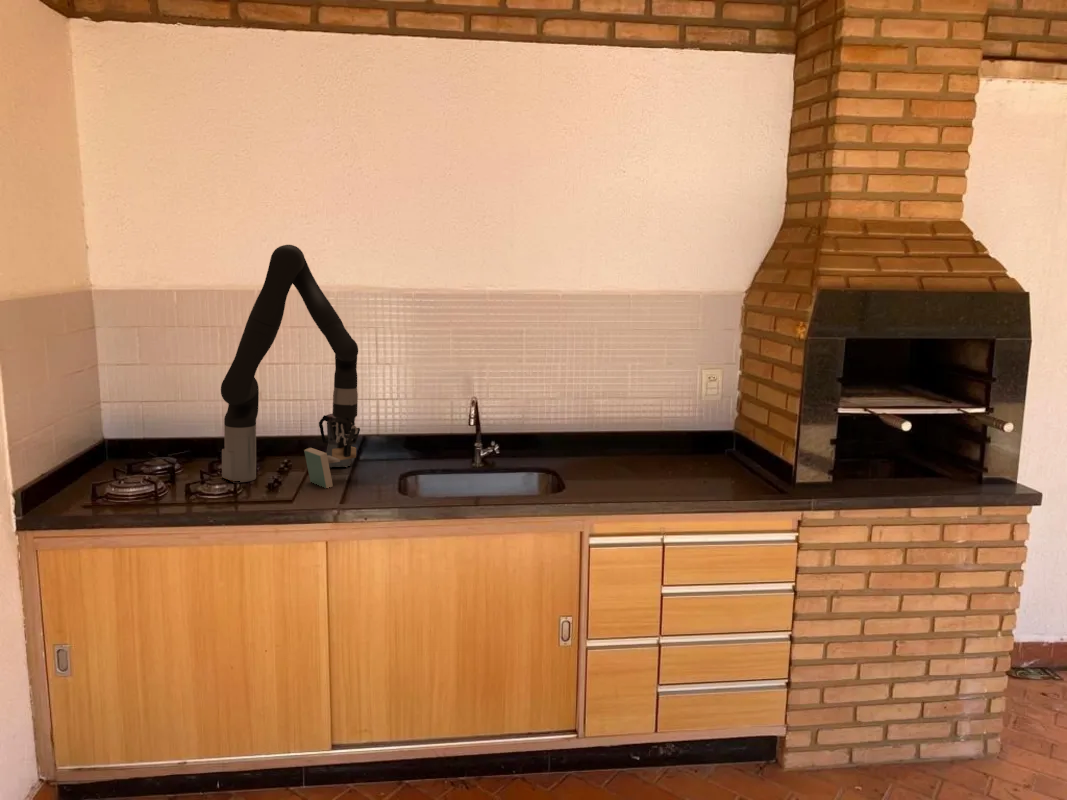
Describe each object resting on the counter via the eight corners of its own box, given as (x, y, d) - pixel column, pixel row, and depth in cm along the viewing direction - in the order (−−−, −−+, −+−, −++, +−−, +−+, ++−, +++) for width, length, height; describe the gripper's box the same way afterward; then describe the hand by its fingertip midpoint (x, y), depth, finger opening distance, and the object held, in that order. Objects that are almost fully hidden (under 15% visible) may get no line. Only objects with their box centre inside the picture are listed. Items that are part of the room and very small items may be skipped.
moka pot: (363, 464, 278) (364, 407, 275) (330, 472, 265) (331, 413, 262) (343, 459, 283) (344, 403, 280) (309, 467, 270) (310, 408, 267)
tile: (326, 489, 247) (319, 455, 243) (310, 482, 253) (303, 450, 249) (332, 486, 248) (326, 453, 245) (316, 479, 254) (310, 447, 251)
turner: (347, 455, 260) (348, 445, 260) (358, 458, 256) (359, 448, 256) (315, 459, 252) (315, 449, 251) (325, 463, 248) (326, 453, 247)
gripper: (322, 399, 255) (321, 452, 257) (347, 406, 245) (346, 461, 248) (342, 397, 260) (341, 449, 263) (368, 404, 251) (366, 458, 254)
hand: (344, 455), depth 255 cm, fingers closed on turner, 2 cm apart
